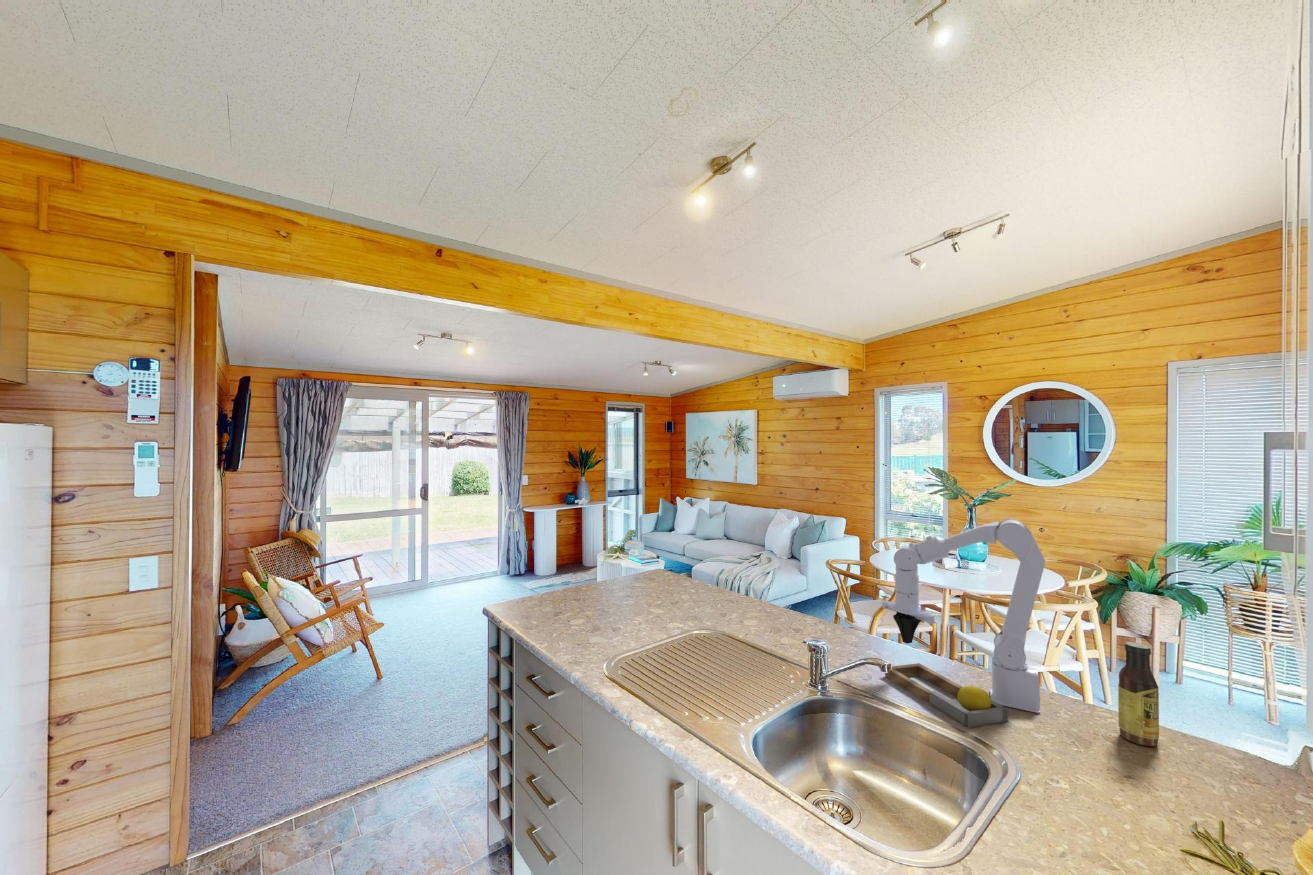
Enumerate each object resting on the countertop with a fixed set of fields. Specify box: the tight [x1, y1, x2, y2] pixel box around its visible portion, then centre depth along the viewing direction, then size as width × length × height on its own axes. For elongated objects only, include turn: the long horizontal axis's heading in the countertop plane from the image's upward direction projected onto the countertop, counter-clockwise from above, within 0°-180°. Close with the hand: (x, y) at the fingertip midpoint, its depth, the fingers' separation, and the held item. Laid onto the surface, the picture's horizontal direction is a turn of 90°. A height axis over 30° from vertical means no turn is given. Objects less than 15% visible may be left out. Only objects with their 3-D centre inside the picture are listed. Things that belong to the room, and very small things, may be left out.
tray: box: [929, 686, 1009, 729], centre depth 118 cm, size 11×11×3 cm
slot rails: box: [884, 663, 963, 705], centre depth 131 cm, size 16×11×2 cm
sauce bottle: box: [1117, 641, 1160, 747], centre depth 107 cm, size 6×6×20 cm
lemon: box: [956, 685, 991, 711], centre depth 117 cm, size 6×6×8 cm
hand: (907, 642), depth 136 cm, fingers closed
